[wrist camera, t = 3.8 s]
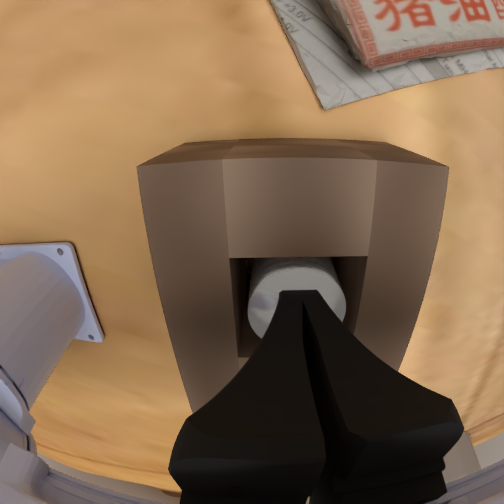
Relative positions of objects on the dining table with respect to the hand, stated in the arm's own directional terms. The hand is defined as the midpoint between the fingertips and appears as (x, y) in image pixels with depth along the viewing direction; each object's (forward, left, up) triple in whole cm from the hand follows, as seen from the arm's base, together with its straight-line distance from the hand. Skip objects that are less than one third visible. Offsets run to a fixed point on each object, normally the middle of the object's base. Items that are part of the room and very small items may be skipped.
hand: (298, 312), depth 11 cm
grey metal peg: (0, 0, -6) cm, 6 cm away
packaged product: (+8, +15, -7) cm, 18 cm away
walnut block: (0, -6, -6) cm, 8 cm away
